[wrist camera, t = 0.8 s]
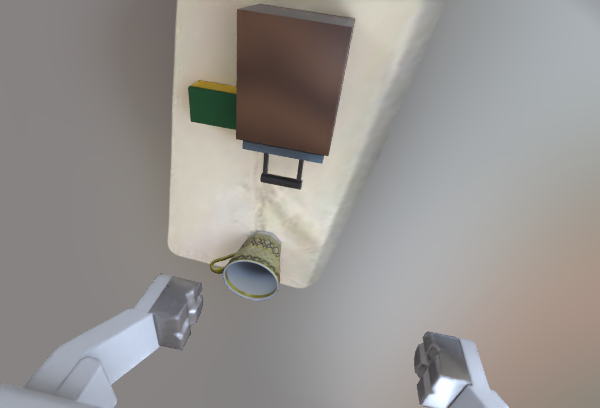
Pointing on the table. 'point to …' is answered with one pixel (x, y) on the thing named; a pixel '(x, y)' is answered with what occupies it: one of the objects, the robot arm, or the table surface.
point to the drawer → (286, 153)
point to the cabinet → (290, 76)
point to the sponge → (213, 104)
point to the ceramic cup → (253, 267)
